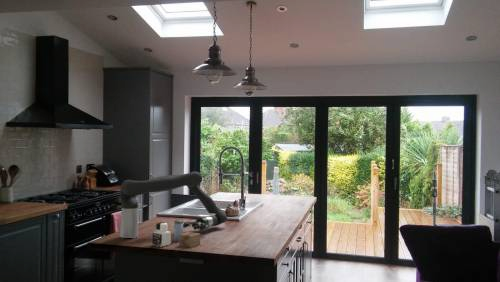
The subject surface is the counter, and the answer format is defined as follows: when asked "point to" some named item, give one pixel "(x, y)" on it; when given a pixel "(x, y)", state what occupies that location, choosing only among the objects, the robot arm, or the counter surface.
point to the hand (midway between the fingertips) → (188, 227)
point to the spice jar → (178, 229)
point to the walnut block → (189, 239)
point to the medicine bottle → (161, 235)
